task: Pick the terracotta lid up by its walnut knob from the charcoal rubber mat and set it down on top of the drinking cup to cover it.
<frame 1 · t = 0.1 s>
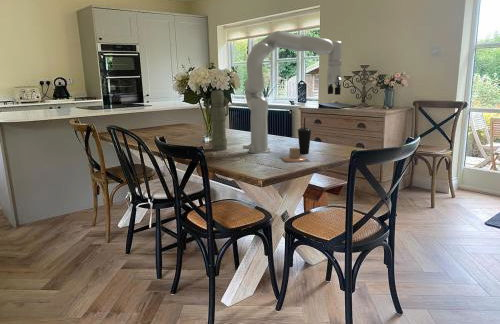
hand: (333, 94, 219), 31 cm above the table, fingers open, 9 cm apart
lid: (294, 159, 194), resting on mat
mat: (294, 160, 194), on the table
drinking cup: (304, 154, 208), on the table
thermos: (219, 149, 227), on the table
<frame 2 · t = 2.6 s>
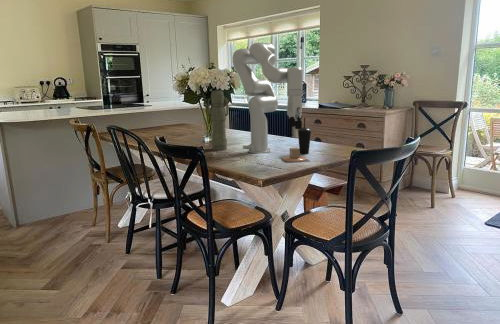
hand: (295, 127, 190), 17 cm above the table, fingers open, 9 cm apart
nothing on the table moved.
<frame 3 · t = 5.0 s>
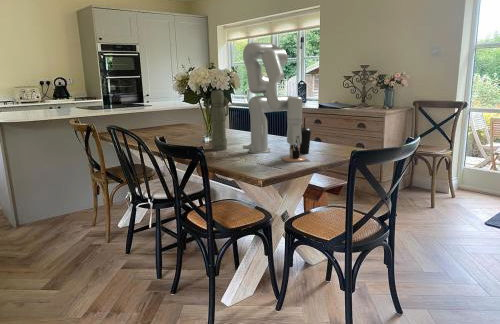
hand: (294, 157, 193), 2 cm above the table, fingers closed on lid, 4 cm apart
lid: (294, 159, 194), resting on mat, touching gripper
everything else where it was.
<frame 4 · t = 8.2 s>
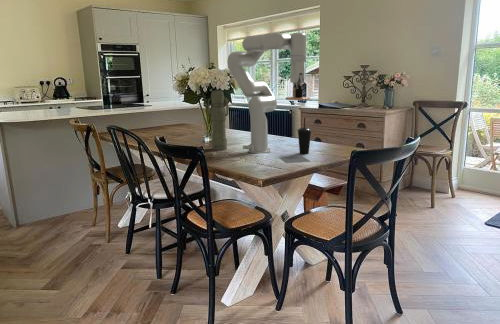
hand: (297, 96, 191), 32 cm above the table, fingers closed on lid, 4 cm apart
lid: (297, 99, 191), point 31 cm above the table, touching gripper
everything else where it was.
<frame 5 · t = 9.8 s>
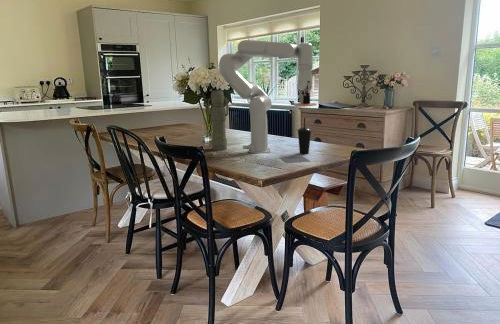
hand: (305, 102, 202), 28 cm above the table, fingers closed on lid, 4 cm apart
lid: (305, 105, 202), point 27 cm above the table, touching gripper
everything else where it was.
when the fingers open (23 cm above the table, at t = 11.4 s): lid drops 1 cm, resting on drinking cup.
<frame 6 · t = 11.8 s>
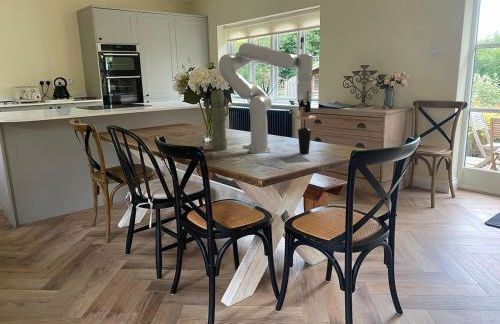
hand: (304, 111, 203), 24 cm above the table, fingers open, 8 cm apart
lid: (304, 117, 204), point 20 cm above the table, touching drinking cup
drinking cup: (304, 154, 208), on the table, touching lid
everything else where it was.
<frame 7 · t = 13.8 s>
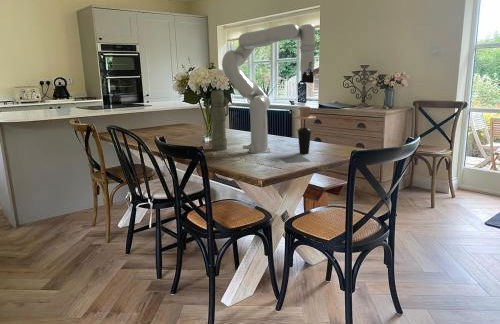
hand: (307, 82, 202), 38 cm above the table, fingers open, 9 cm apart
nothing on the table moved.
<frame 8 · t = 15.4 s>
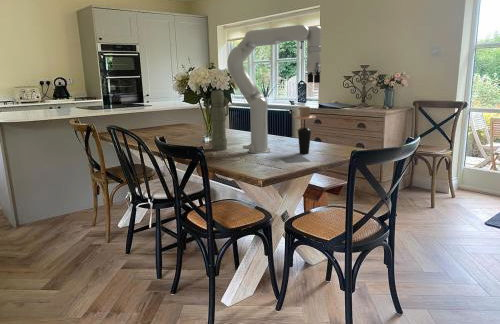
hand: (313, 82, 209), 38 cm above the table, fingers open, 9 cm apart
nothing on the table moved.
at the end: lid 0.1 cm off-centre on the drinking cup, point 20.2 cm above the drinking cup's base; the gripper is holding nothing; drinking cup tilted 0° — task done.
